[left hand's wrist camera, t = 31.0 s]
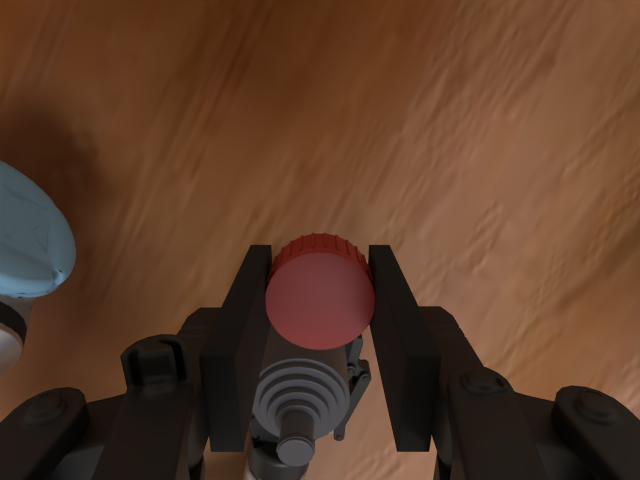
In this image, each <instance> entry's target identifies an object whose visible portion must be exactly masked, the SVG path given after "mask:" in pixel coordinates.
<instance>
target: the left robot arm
mask: <svg viewBox="0 0 640 480" xmlns="http://www.w3.org/2000/svg"><path fill="white" fill-rule="evenodd" d="M368 264H369V267H370V270H371V274H372V277H373V282H372V283H373V287H374V291H375V303H374V314H373V317H372V319H371V321H370V323H369V325H370V329H371V334H372V338H373V343H374V348H375V352H376V357H377V361H378V366H379V370H380V375H381V380H382V384H383V389H384V393H385V398H386V403H387V407H388V412H389V416H390V421H391V425H392V430H393V435H394V439H395V444H396V448H397V452H429V449H430V441H431V434H432V437H433V440H434V443H435V446H436V449H437V457H436V464H435V471H434V478H433V480H640V420H639V419H638V418H637V417H636V416H635V415H634V414H633V413H632V412H631V411H630V410H628V409H627V408H626V407H625V406H624V405H622V404H621V403H620V402H618V401H617V400H616V399H614V398H612V397H610V396H608V395H606V394H604V393H602V392H600V391H597V390H594V389H591V388H587V387H582V386H568V387H563V388H561V389H560V390H559V391H558V392H557V393H556V397H555V401H549V400H545V399H540V398H536V397H532V396H527V395H524V394H520V393H517V392H515V391H514V390H513V388H512V387H511V385H510V384H509V382H508V381H507V380H506V379H505V378H504V377H503V376H501V375H500V374H499V373H497V372H495V371H493V370H491V369H489V368H487V367H484V366H483V365H482V363H481V361H480V360H479V358H478V356H477V355H476V353H475V351H474V350H473V348H472V347H471V345H470V343H469V342H468V340H467V338H466V337H465V336H464V333H463V332H462V330H461V329H460V328H459V325H458V324H457V322H456V320H455V319H454V317H453V316H452V315H451V314H450V313H448V312H447V311H446V310H444V309H443V308H442V307H440V306H418V305H417V302H416V300H415V298H414V296H413V294H412V292H411V290H410V288H409V286H408V283H407V281H406V279H405V277H404V275H403V273H402V271H401V269H400V267H399V264H398V262H397V260H396V258H395V256H394V254H393V252H392V250H391V247H390V245H369V258H368ZM271 265H272V252H271V245H251V246H250V248H249V250H248V252H247V254H246V256H245V259H244V261H243V263H242V265H241V267H240V269H239V271H238V273H237V276H236V278H235V280H234V282H233V284H232V286H231V288H230V290H229V292H228V295H227V297H226V299H225V301H224V303H223V305H222V307H221V308H199V309H198V310H196V311H195V312H194V313H192V314H191V315H190V316H188V317H187V319H186V321H185V322H184V324H183V326H182V327H181V330H180V331H179V332H178V334H177V336H176V335H172V334H161V335H156V336H151V337H147V338H145V339H142V340H140V341H137V342H135V343H134V344H132V345H131V346H130V347H128V348H127V349H126V350H125V351H124V352H123V354H122V355H121V356H120V357H121V362H122V366H123V371H124V375H125V380H126V384H127V391H126V393H125V394H122V395H119V396H115V397H111V398H107V399H103V400H98V401H94V402H89V403H86V399H85V396H84V394H83V393H82V392H81V391H80V390H79V389H75V388H70V387H65V388H55V389H52V390H49V391H46V392H42V393H40V394H38V395H36V396H34V397H32V398H30V399H28V400H26V401H25V402H24V403H22V404H21V405H20V406H18V407H17V408H16V409H14V410H13V411H12V412H11V413H10V414H9V415H8V416H7V417H6V418H5V419H4V420H3V421H2V422H1V423H0V480H204V475H205V465H204V457H203V452H204V449H205V446H206V443H207V440H208V437H209V439H210V447H211V452H243V450H244V445H245V440H246V436H247V431H248V427H249V422H250V417H251V413H252V408H253V404H254V399H255V395H256V390H257V385H258V381H259V376H260V372H261V367H262V362H263V358H264V353H265V349H266V344H267V339H268V335H269V330H270V326H271V322H270V320H269V319H268V316H267V313H266V298H265V292H266V288H267V285H268V283H267V278H268V275H269V271H270V268H271Z"/></svg>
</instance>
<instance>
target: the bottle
mask: <svg viewBox="0 0 640 480" xmlns="http://www.w3.org/2000/svg"><path fill="white" fill-rule="evenodd" d="M349 403H350V393H349V382H348V371H347V361H346V350H345V345H343V346H340V347H337V348H332V349H325V350H315V349H308V348H304V347H300V346H298V345H295V344H293V343H291V342H289V341H288V340H286V339H285V338H284V337H282V336H281V335H280V334H279V333H278V332H277V331H276V330H275V328H274V327H273V326H272V324H271V326H270V330H269V335H268V339H267V344H266V349H265V353H264V358H263V362H262V367H261V372H260V376H259V381H258V385H257V390H256V395H255V399H254V404H253V408H252V411H253V413H254V415H255V417H256V419H257V420H258V422H259V423H260V424H261V425H262V427H263V428H265V429H266V430H267V431H268V432H270V433H271V434H273V435H275V436H277V437H279V441H278V443H277V451H276V452H278V456H279V458H280V460H281V461H282V462H283V463H285V464H287V465H289V466H303V465H305V464H307V463H308V462H310V461H311V459H312V457H313V455H314V453H315V442H314V439H317V438H320V437H323V436H325V435H327V434H328V433H330V432H332V431H333V430H334V429H335V428H336V427H337V426H338V425H339V424H340V422H341V421H342V420H343V418H344V417H345V415H346V413H347V411H348V408H349Z"/></svg>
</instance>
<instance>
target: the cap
mask: <svg viewBox="0 0 640 480" xmlns="http://www.w3.org/2000/svg"><path fill="white" fill-rule="evenodd" d="M372 282H373V277H372V274H371V270H370V267H369V264H367V263H366V259H365V256H364V254H363V255H362V254H361V253H360V252H359V250H358V247H357V246H354V245H352V244H351V243H350V242H349V240H344V239H342V238H340V237H338V235H336V236H334V235H329V234H326V233H324V234H315V233H312V234H311V235H307V236H303V235H302V236H301V237H300V238H298V239H296V240H294V241H290V243H289V244H288V245H287V246H286V247H285V248H284V247H283V248H282V249H281V252H280V253H279V254H278V256H275V259H274V262H273V266H272V265H271V268H270V271H269V275H268V278H267V283H268V285H267V288H266V292H265V298H266V313H267V316H268V319H269V320H270V322H271V324H272V326H273V327H274V328H275V330H276V331H277V332H278V333H279V334H280V335H281V336H282V337H284V338H285V339H286V340H288V341H289V342H291V343H293V344H295V345H298V346H300V347H304V348H308V349H315V350H325V349H332V348H337V347H340V346H343V345H345V344H347V343H349V342H351V341H352V340H354V339H355V338H357V337H358V336H359V335H360V334H361V333H362V332H363V331H364V330H365V329H366V327H367V326H368V325H369V323H370V321H371V319H372V317H373V314H374V303H375V291H374V287H373V283H372Z"/></svg>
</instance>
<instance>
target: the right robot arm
mask: <svg viewBox="0 0 640 480" xmlns="http://www.w3.org/2000/svg"><path fill="white" fill-rule="evenodd" d="M75 261H76V246H75V240H74V237H73V234H72V231H71V228H70V226H69V224H68V222H67V220H66V219H65V217H64V215H63V214H62V212H61V211H60V210H59V209H58V208H57V207H56V206H55V204H54V203H53V201H52V199H51V198H50V197H49V196H48V195H47V194H46V193H45V192H44V191H43V190H42V189H41V188H40V187H39V186H38V185H36V184H35V183H34V182H33V181H32V180H30V179H29V178H28V177H26V176H25V175H24V174H22V173H21V172H19V171H18V170H16V169H15V168H13V167H11V166H10V165H8V164H6V163H4V162H2V161H0V375H1V374H3V373H4V372H6V371H7V370H9V369H11V368H12V367H13V366H14V365H15V364H16V363H17V362H18V361H19V359H20V357H21V354H22V352H23V347H24V342H25V337H26V332H27V327H28V323H29V318H30V313H31V308H32V305H33V303H34V301H35V299H36V298H37V297H39V296H44V295H47V294H49V293H50V292H52V291H54V290H56V289H57V288H58V287H59V285H60V284H61V283H63V282H64V281H65V280H66V279H67V278H68V276H69V275H70V274H71V272H72V270H73V268H74V265H75ZM362 345H363V340H362V334H360V335H359V336H358V337H357V338H355V339H354V340H352V341H351V342H349V343H347V344H345V350H346V361H347V371H348V382H349V393H350V403H349V408H348V411H347V413H346V415H345V417H344V418H343V420H342V421H341V422H340V424H339V425H338V426H337V427H336V428H335V429H334V430H333V431H332V432H330V433H328V434H334V439H335V440H337V441H341V440H343V439H344V434H345V425H346V423H347V422H348V420H349V418H350V416H351V415H352V413H353V411H354V409H355V408H356V406H357V404H358V402H359V400H360V399H361V397H362V395H363V393H364V392H365V390H366V388H367V386H368V384H369V383H370V381H371V373H370V367H369V362H368V361H367V360H360V359H359V356H360V352H361V348H362ZM249 426H250V428H251V437H250V443H249V448H248V456H247V460H246V466H245V471H244V477H243V480H305V477H306V473H307V468H308V465H309V462H308V463H307V464H305V465H303V466H289V465H287V464H285V463H283V462H282V461H281V460H280V458H279V456H278V452H276V451H277V443H278V441H279V437H277V436H275V435H273V434H271V433H270V432H268V431H267V430H266V429H265V428H263V427H262V425H261V424H260V423H259V422H258V420H257V419H256V417H255V415H254V413H253V411H252V413H251V417H250V422H249ZM315 440H316V439H314V442H315Z"/></svg>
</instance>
